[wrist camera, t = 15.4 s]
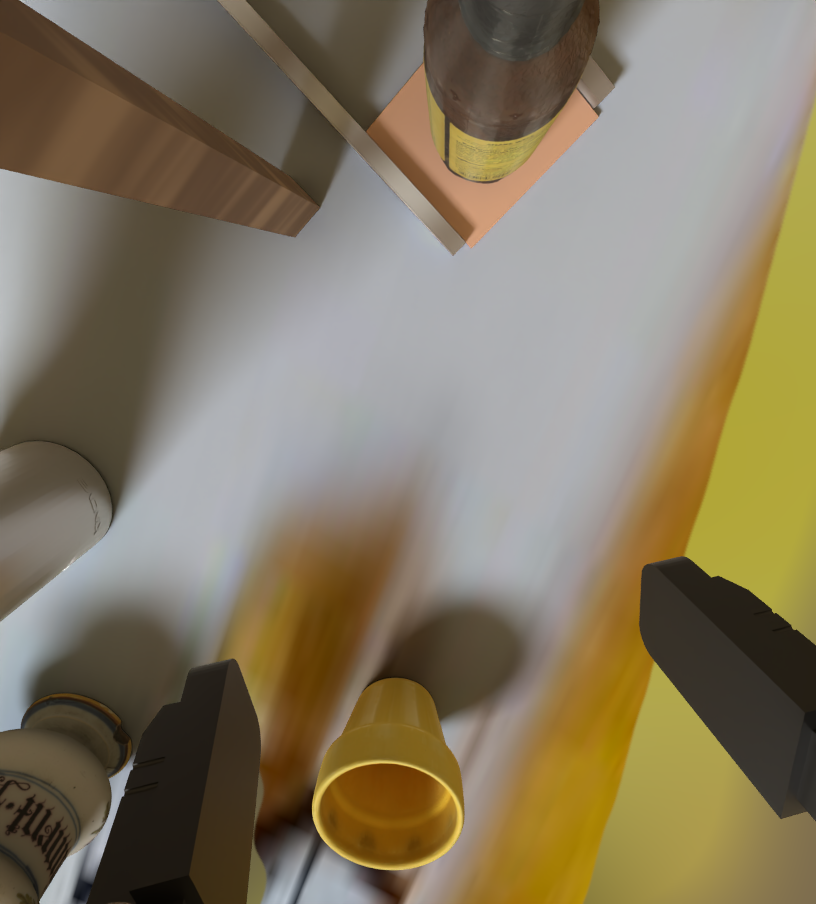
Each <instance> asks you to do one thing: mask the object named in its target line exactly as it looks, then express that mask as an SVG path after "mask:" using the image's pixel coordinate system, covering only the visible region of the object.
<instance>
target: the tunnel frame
mask: <svg viewBox="0 0 816 904" xmlns="http://www.w3.org/2000/svg"><path fill="white" fill-rule="evenodd" d="M217 1H218V2H219V3H220V4H221V5H222V6H223V7H224V8H225V9H226V11H227V12H228V13H229V14H230V15H231V16H232V17H233V18H234V19H235V20H236V21H237V23H238V24H239V25H240V26H241V27H242V28H243V29H244V30H245V31H246V32H247V33H248V34H249V36H250V37H251V38H252V39H253V40H254V41H255V42H256V43H257V44H258V45H259V46H260V47H261V49H262V50H263V51H264V52H265V53H266V54H267V55H268V56H269V57H270V58H271V59H272V60H273V62H274V63H275V64H276V65H277V66H278V67H279V68H280V69H281V70H282V71H283V72H284V73H285V75H286V76H287V77H288V78H289V79H290V80H291V81H292V82H293V83H294V84H295V85H296V86H297V88H298V89H299V90H300V91H301V92H302V93H303V94H304V95H305V96H306V97H307V98H308V99H309V101H310V102H311V103H312V104H313V105H314V106H315V107H316V108H317V109H318V110H319V111H320V112H321V114H322V115H323V116H324V117H325V118H326V119H327V120H328V121H329V122H330V123H331V124H332V125H333V127H334V128H335V129H336V130H337V131H338V132H339V133H340V134H341V135H342V136H343V137H344V138H345V140H346V141H347V142H348V143H349V144H350V145H351V146H352V147H353V148H354V149H355V150H356V151H357V153H358V154H359V155H360V156H361V157H362V158H363V159H364V160H365V161H366V162H367V163H368V164H369V166H370V167H371V168H372V169H373V170H374V171H375V172H376V173H377V174H378V175H379V176H380V177H381V179H382V180H383V181H384V182H385V183H386V184H387V185H388V186H389V187H390V188H391V189H392V191H393V192H394V193H395V194H396V195H397V196H398V197H399V198H400V199H401V200H402V201H403V202H404V204H405V205H406V206H407V207H408V208H409V209H410V210H411V211H412V212H413V213H414V214H415V215H416V217H417V218H418V219H419V220H420V221H421V222H422V223H423V224H424V225H425V226H426V227H427V228H428V230H429V231H430V232H431V233H432V234H433V235H434V236H435V237H436V238H437V239H438V240H439V241H440V243H441V244H442V245H443V246H444V247H445V248H446V249H447V250H448V251H449V252H450V253H451V254H452V256H453V255H454V254H455V253H456V252H457V251H458V250H459V249H460V248H461V247H462V246H463V245H464V244H465V243H466V242H465V241H464V240H463V239H462V238H461V237H460V235H459V234H458V233H457V232H456V231H455V230H454V229H453V228H452V227H451V226H450V224H449V223H448V222H447V221H446V220H445V219H444V218H443V217H442V216H441V215H440V213H439V212H438V211H437V210H436V209H435V208H434V207H433V206H432V205H431V204H430V203H429V201H428V200H427V199H426V198H425V197H424V196H423V195H422V194H421V193H420V192H419V190H418V189H417V188H416V187H415V186H414V185H413V184H412V183H411V182H410V181H409V179H408V178H407V177H406V176H405V175H404V174H403V173H402V172H401V171H400V170H399V168H398V167H397V166H396V165H395V164H394V163H393V162H392V161H391V160H390V159H389V157H388V156H387V155H386V154H385V153H384V152H383V151H382V150H381V149H380V148H379V146H378V145H377V144H376V143H375V142H374V141H373V140H372V139H371V138H370V137H369V135H368V134H367V133H366V132H365V131H364V130H363V129H362V128H361V127H360V126H359V124H358V123H357V122H356V121H355V120H354V119H353V118H352V117H351V116H350V115H349V114H348V112H347V111H346V110H345V109H344V108H343V107H342V106H341V105H340V104H339V103H338V101H337V100H336V99H335V98H334V97H333V96H332V95H331V94H330V93H329V92H328V90H327V89H326V88H325V87H324V86H323V85H322V84H321V83H320V82H319V81H318V79H317V78H316V77H315V76H314V75H313V74H312V73H311V72H310V71H309V70H308V68H307V67H306V66H305V65H304V64H303V63H302V62H301V61H300V60H299V59H298V57H297V56H296V55H295V54H294V53H293V52H292V51H291V50H290V49H289V48H288V46H287V45H286V44H285V43H284V42H283V41H282V40H281V39H280V38H279V37H278V35H277V34H276V33H275V32H274V31H273V30H272V29H271V28H270V27H269V26H268V25H267V23H266V22H265V21H264V20H263V19H262V18H261V17H260V16H259V15H258V14H257V12H256V11H255V10H254V9H253V8H252V7H251V6H250V5H249V4H248V3H247V1H246V0H217ZM614 88H615V86H614V85H613V84H612V83H611V81H610V80H609V79H608V77H607V76H606V75H605V74H604V72H603V71H602V70H601V68H600V67H599V66H598V65H597V63H596V62H595V61H594V59H593V58H592V57H591V56H589V60H588V62H587V65H586V67H585V69H584V72H583V74H582V77H581V79H580V81H579V83H578V85H577V87H576V89H577V90H578V91H579V93H580V94H581V95H582V96H583V98H584V99H585V100H586V101H587V103H588V104H589V105H590V106H591V108H592V109H594V108H595V107H596V106H597V105H598V104H599V103H600V102H601V101H602V100H603V99H604V98H605V97H606V96H607V95H608V94H609V93H610V92H611V91H612V90H613V89H614ZM0 168H1V169H5V170H9V171H13V172H18V173H22V174H26V175H31V176H35V177H39V178H43V179H48V180H52V181H56V182H60V183H65V184H69V185H73V186H78V187H82V188H86V189H90V190H95V191H99V192H103V193H107V194H112V195H116V196H120V197H125V198H129V199H133V200H137V201H142V202H146V203H150V204H154V205H159V206H163V207H167V208H171V209H176V210H180V211H184V212H189V213H193V214H197V215H201V216H206V217H210V218H214V219H218V220H223V221H227V222H231V223H236V224H240V225H244V226H248V227H253V228H257V229H261V230H265V231H270V232H274V233H278V234H283V235H287V236H291V237H296V235H297V234H298V233H299V232H300V231H301V230H302V228H303V227H304V226H305V225H306V224H307V222H308V221H309V220H310V219H311V218H312V217H313V215H314V214H315V213H316V212H317V211H318V210H319V208H320V207H319V206H318V205H317V204H316V203H315V202H314V201H313V200H312V198H311V197H310V196H309V195H308V194H307V193H306V192H305V191H304V190H303V189H302V188H301V187H300V186H299V185H298V184H297V183H296V182H295V181H294V180H293V179H292V178H291V177H290V176H288V175H287V174H285V173H284V172H282V171H281V170H279V169H278V168H276V167H275V166H273V165H271V164H270V163H268V162H267V161H265V160H264V159H262V158H261V157H259V156H258V155H256V154H255V153H253V152H251V151H250V150H248V149H247V148H245V147H244V146H242V145H241V144H239V143H238V142H236V141H235V140H233V139H232V138H230V137H228V136H227V135H225V134H224V133H222V132H221V131H219V130H218V129H216V128H215V127H213V126H212V125H210V124H208V123H207V122H205V121H204V120H202V119H201V118H199V117H198V116H196V115H195V114H193V113H192V112H190V111H188V110H187V109H185V108H184V107H182V106H181V105H179V104H178V103H176V102H175V101H173V100H172V99H170V98H168V97H167V96H165V95H164V94H162V93H161V92H159V91H158V90H156V89H155V88H153V87H152V86H150V85H148V84H147V83H145V82H144V81H142V80H141V79H139V78H138V77H136V76H135V75H133V74H132V73H130V72H128V71H127V70H125V69H124V68H122V67H121V66H119V65H118V64H116V63H115V62H113V61H112V60H110V59H108V58H107V57H105V56H104V55H102V54H101V53H99V52H98V51H96V50H95V49H93V48H92V47H90V46H89V45H87V44H85V43H84V42H82V41H81V40H79V39H78V38H76V37H75V36H73V35H72V34H70V33H69V32H67V31H65V30H64V29H62V28H61V27H59V26H58V25H56V24H55V23H53V22H52V21H50V20H49V19H47V18H45V17H44V16H42V15H41V14H39V13H38V12H36V11H35V10H33V9H32V8H30V7H29V6H27V5H25V4H24V3H22V2H21V1H19V0H0Z"/></svg>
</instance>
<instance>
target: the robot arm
mask: <svg viewBox="0 0 816 904" xmlns="http://www.w3.org/2000/svg"><path fill="white" fill-rule="evenodd" d="M111 519H112V503H111V498H110V494H109V491H108V489H107V487H106V484H105V482H104V481H103V479H102V478H101V476H100V475H99V473H98V472H97V471H96V469H95V468H94V467H93V466H92V465H91V464H90V463H89V462H88V461H87V460H85V459H84V458H83V457H81V456H80V455H79V454H77V453H76V452H74V451H72V450H70V449H68V448H66V447H64V446H61V445H58V444H55V443H52V442H44V441H30V442H23V443H20V444H17V445H14V446H12V447H9V448H7V449H5V450H2V451H0V622H1V621H2V620H3V619H4V618H6V617H7V616H8V615H9V614H11V613H12V612H13V611H14V610H15V609H17V608H18V607H19V606H20V605H22V604H23V603H24V602H25V601H27V600H28V599H29V598H30V597H31V596H33V595H34V594H35V593H36V592H38V591H39V590H40V589H41V588H43V587H44V586H45V585H46V584H47V583H49V582H50V581H51V580H52V579H54V578H55V577H56V576H57V575H59V574H60V573H61V572H62V571H64V570H65V569H66V568H67V567H69V566H70V565H71V564H72V563H74V562H75V561H76V560H77V559H78V558H80V557H81V556H82V555H83V554H85V553H86V552H87V551H88V550H89V549H91V548H92V547H93V546H94V545H96V544H97V543H98V542H99V541H100V540H101V539H102V538H103V537H104V535H105V534H106V532H107V530H108V529H109V526H110V522H111ZM639 626H640V632H641V636H642V639H643V642H644V645H645V647H646V649H647V651H648V652H649V654H650V656H651V657H652V658H653V660H654V661H655V662H656V663H657V664H658V666H659V667H660V668H661V670H662V671H663V672H664V673H665V674H666V676H667V677H668V678H669V679H670V681H671V682H672V683H673V685H674V686H675V687H676V688H677V690H678V691H679V692H680V693H681V695H682V696H683V697H684V698H685V700H686V701H687V702H688V703H689V705H690V706H691V707H692V708H693V710H694V711H695V712H696V713H697V715H698V716H699V717H700V718H701V720H702V721H703V722H704V723H705V725H706V726H707V727H708V728H709V730H710V731H711V732H712V733H713V735H714V736H715V737H716V738H717V740H718V741H719V742H720V744H721V745H722V746H723V747H724V749H725V750H726V751H727V752H728V754H729V755H730V756H731V757H732V759H733V760H734V761H735V762H736V764H737V765H738V766H739V767H740V769H741V770H742V771H743V772H744V774H745V775H746V776H747V777H748V779H749V780H750V781H751V782H752V784H753V785H754V786H755V787H756V789H757V790H758V791H759V792H760V794H761V795H762V796H763V797H764V799H765V800H766V801H767V802H768V804H769V805H770V806H771V807H772V809H773V810H774V811H775V812H776V814H777V815H778V816H779V817H780V819H782V818H786V817H789V816H792V815H796V814H799V813H803V812H808V813H809V814H810V815H811V816H812V817H813V819H814V820H815V821H816V645H815V644H813V643H812V642H811V641H810V640H808V639H807V638H806V637H805V636H804V635H802V634H801V633H800V632H799V631H798V630H793V629H792V627H791V625H790V624H789V623H788V622H787V621H785V620H784V619H783V618H782V617H780V616H779V615H778V614H777V613H775V614H774V613H773V612H772V609H771V608H770V607H768V606H767V605H766V604H765V603H764V602H762V601H761V600H760V599H759V598H758V597H756V596H755V595H754V594H753V593H751V592H750V591H749V590H747V589H745V588H743V587H741V586H739V585H737V584H735V583H733V582H730V581H728V580H726V579H724V578H722V577H720V576H716V577H712V578H711V577H710V576H709V575H708V574H706V573H705V572H704V571H703V570H702V569H701V568H699V567H698V566H697V565H696V564H695V563H694V562H693V561H691V560H690V559H689V558H687V557H677V558H672V559H668V560H664V561H659V562H655V563H651V564H647V565H645V566H644V568H643V570H642V577H641V599H640V621H639ZM260 754H261V738H260V728H259V723H258V718H257V715H256V712H255V709H254V706H253V704H252V701H251V698H250V695H249V693H248V690H247V687H246V684H245V682H244V679H243V676H242V673H241V670H240V668H239V665H238V663H237V661H236V660H235V659H229V660H225V661H221V662H216V663H212V664H208V665H203V666H199V667H195V668H192V669H191V670H190V671H189V673H188V676H187V680H186V684H185V687H184V691H183V694H182V698H181V702H177V703H173V704H169V705H164V706H163V707H162V708H161V710H160V711H159V712H158V714H157V715H156V717H155V718H154V719H153V721H152V722H151V723H150V725H149V726H148V728H147V729H146V730H145V732H144V733H143V735H142V738H141V741H140V744H139V747H138V750H137V753H136V756H135V759H134V762H133V770H131V771H130V774H129V777H128V780H127V783H126V786H125V789H124V791H125V795H124V797H122V798H121V801H120V804H119V807H118V810H117V813H116V816H115V819H114V822H113V825H112V828H111V831H110V835H109V838H108V841H107V844H106V847H105V850H104V853H103V856H102V859H101V862H100V865H99V868H98V871H97V874H96V877H95V880H94V883H93V886H92V889H91V892H90V895H89V898H88V901H87V903H86V904H246V902H247V892H248V881H249V871H250V860H251V849H252V839H253V828H254V818H255V807H256V796H257V786H258V775H259V765H260Z"/></svg>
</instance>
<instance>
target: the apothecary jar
mask: <svg viewBox="0 0 816 904" xmlns="http://www.w3.org/2000/svg"><path fill="white" fill-rule="evenodd" d="M121 724H122V721H121V719H120V718H119V717H118V716H117V715H116V714H115V713H114V712H113V711H111V710H110V709H109V708H108V707H106V706H105V705H103V704H101V703H99V702H97V701H95V700H93V699H91V698H87V697H85V696H81V695H77V694H69V693H62V694H53V695H49V696H46V697H43V698H41V699H39V700H38V701H36V702H35V703H33V704H32V705H31V706H30V707H29V708H28V710H27V711H26V713H25V714H24V716H23V719H22V722H21V729H14V730H8V731H3V732H0V904H40V903H39V901H40V899H41V897H42V896H43V894H44V892H45V891H46V889H47V887H48V886H49V884H50V883H51V881H52V879H53V878H54V876H55V874H56V873H57V871H58V869H59V868H60V866H61V865H62V863H63V862H64V860H65V859H66V857H68V856H70V855H72V854H74V853H76V852H78V851H79V850H81V849H82V848H84V847H85V846H87V845H88V844H89V843H90V842H91V841H92V840H93V839H94V838H95V837H96V836H97V835H98V833H99V832H100V831H101V829H102V828H103V826H104V824H105V822H106V820H107V818H108V815H109V811H110V807H111V799H112V795H111V786H110V782H109V778H111V777H113V776H115V775H116V774H117V773H119V772H120V771H121V770H122V769H123V768H124V767H125V765H126V764H127V763H128V760H129V758H130V756H131V750H132V744H131V739H130V737H129V736H128V735H127V734H126V733H125V732H124V731H123V730H122V728H121Z"/></svg>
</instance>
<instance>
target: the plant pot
mask: <svg viewBox="0 0 816 904" xmlns="http://www.w3.org/2000/svg"><path fill="white" fill-rule="evenodd" d="M312 814H313V820H314V823H315V826H316V828H317V831H318V832H319V834H320V836H321V837H322V839H323V840H324V841H325V842H326V844H327V845H328V846H329V847H331V848H332V849H333V850H334V851H335V852H337V853H338V854H339V855H341V856H342V857H344V858H346V859H348V860H350V861H352V862H355V863H357V864H360V865H363V866H367V867H371V868H376V869H384V870H403V869H410V868H415V867H419V866H422V865H425V864H428V863H430V862H432V861H434V860H436V859H438V858H440V857H441V856H443V855H444V854H445V853H446V852H448V851H449V850H450V849H451V848H452V846H453V845H454V844H455V843H456V841H457V839H458V838H459V836H460V834H461V831H462V828H463V824H464V797H463V787H462V779H461V773H460V768H459V765H458V762H457V760H456V758H455V756H454V755H453V753H452V752H451V750H450V749H449V748H448V747H447V745H446V743H445V740H444V736H443V732H442V729H441V725H440V722H439V718H438V714H437V711H436V707H435V704H434V701H433V699H432V697H431V695H430V694H429V692H428V691H427V690H426V689H425V688H424V687H423V686H421V685H420V684H418V683H416V682H414V681H411V680H408V679H404V678H387V679H382V680H379V681H377V682H375V683H373V684H371V685H370V686H368V687H367V688H366V689H365V690H364V691H363V692H362V694H361V695H360V697H359V699H358V701H357V703H356V705H355V707H354V709H353V712H352V714H351V716H350V718H349V720H348V722H347V724H346V727H345V729H344V731H343V733H342V735H341V736H340V737H339V738H338V739H336V740H335V741H334V742H333V744H332V745H331V746H330V748H329V749H328V750H327V752H326V754H325V756H324V759H323V762H322V765H321V768H320V772H319V775H318V779H317V784H316V788H315V792H314V797H313V803H312Z"/></svg>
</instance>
